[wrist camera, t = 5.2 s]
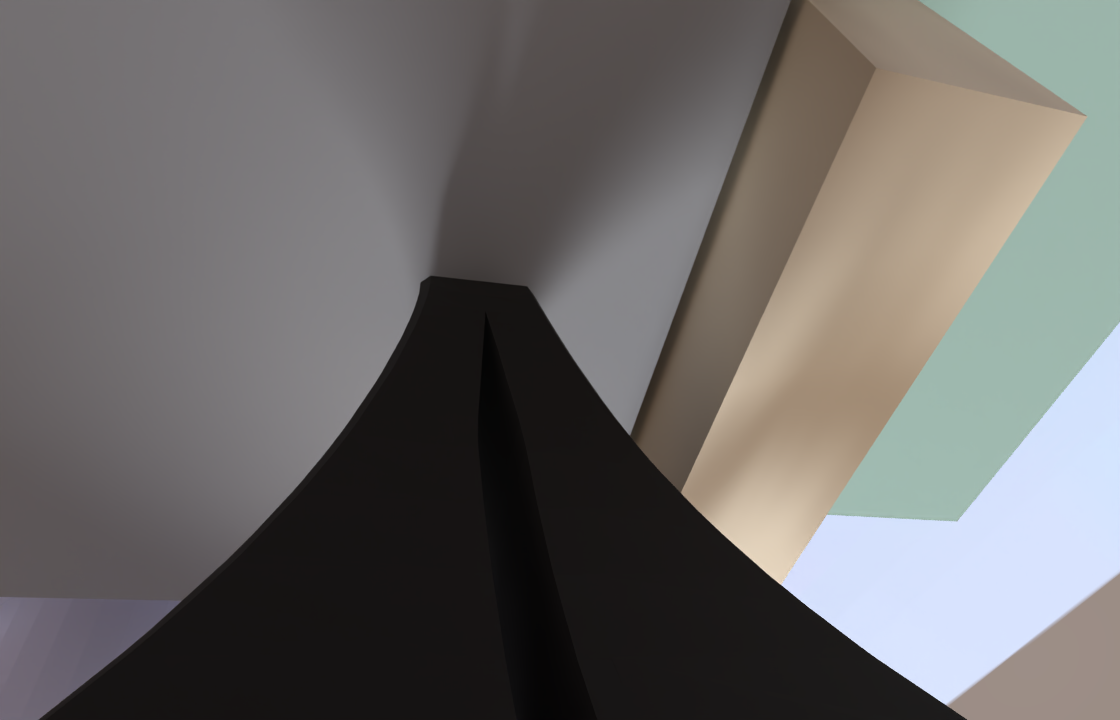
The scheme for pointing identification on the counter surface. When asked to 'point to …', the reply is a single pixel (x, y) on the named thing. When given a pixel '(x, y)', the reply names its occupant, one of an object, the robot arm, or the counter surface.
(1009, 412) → the mat
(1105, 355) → the counter surface
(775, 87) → the tan rectangular block
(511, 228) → the grey box
